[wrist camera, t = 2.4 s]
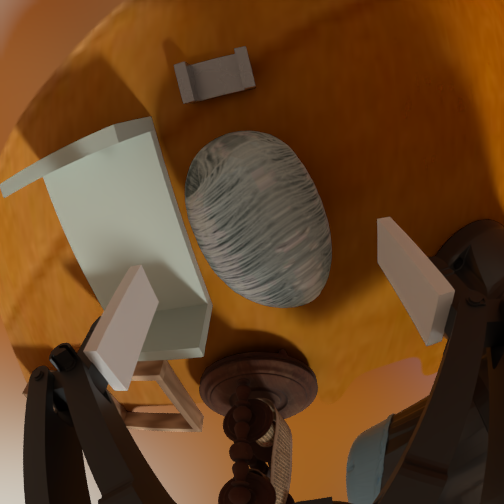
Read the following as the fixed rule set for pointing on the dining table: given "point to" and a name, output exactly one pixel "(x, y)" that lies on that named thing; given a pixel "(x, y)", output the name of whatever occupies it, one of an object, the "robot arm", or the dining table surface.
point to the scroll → (258, 420)
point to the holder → (128, 229)
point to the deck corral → (174, 390)
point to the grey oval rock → (259, 219)
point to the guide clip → (215, 77)
